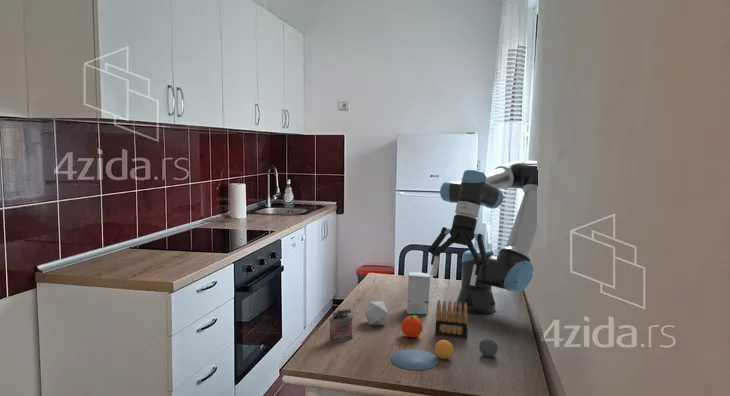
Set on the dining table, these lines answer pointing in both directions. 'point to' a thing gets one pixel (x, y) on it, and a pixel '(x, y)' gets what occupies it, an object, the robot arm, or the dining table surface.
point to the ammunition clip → (451, 321)
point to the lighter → (341, 326)
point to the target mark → (414, 359)
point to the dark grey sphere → (488, 347)
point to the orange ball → (443, 349)
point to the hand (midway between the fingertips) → (452, 280)
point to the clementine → (412, 326)
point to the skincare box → (418, 293)
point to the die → (376, 313)
